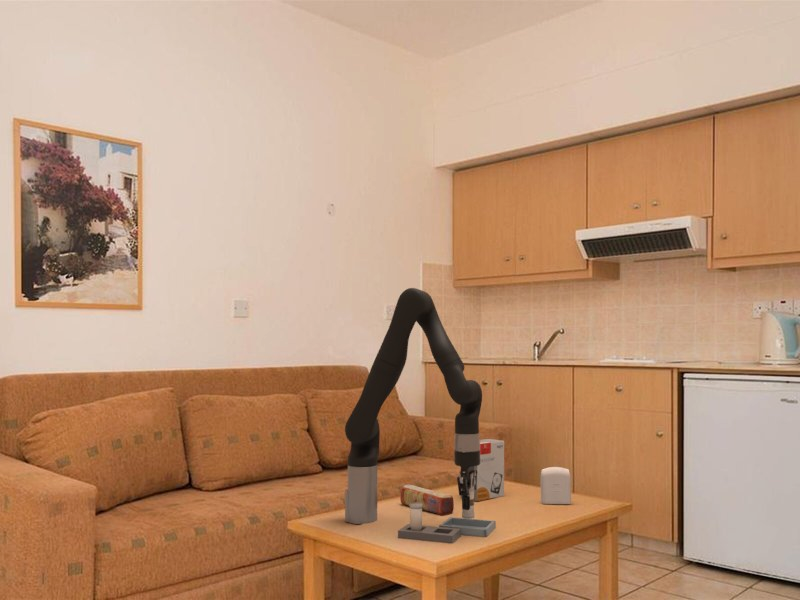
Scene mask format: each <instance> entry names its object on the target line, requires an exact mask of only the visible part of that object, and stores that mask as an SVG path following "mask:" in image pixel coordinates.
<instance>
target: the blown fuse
mask: <svg viewBox="0 0 800 600" xmlns="http://www.w3.org/2000/svg"><path fill="white" fill-rule="evenodd" d="M467 486H468V485H467ZM464 491H465V489H464ZM461 511H462V512H461V518H467V519H474V518H475V501H474V485H472V488H471V489H470V509H469V510H463V509H462V508H461Z"/></svg>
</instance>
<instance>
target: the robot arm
mask: <svg viewBox="0 0 800 600" xmlns="http://www.w3.org/2000/svg"><path fill="white" fill-rule="evenodd" d="M393 311H394V312H393V314H392V317H391V321H390V324H389V326H388V329H387V331H386V334H385V335H384V338H383V340H382V342H381V345H380V348H379V349H378V351H377V354H376V356H375V358H374V361H373V362H372V366H371V368H370V369H369V373H368V374H367V378H366V380H365V383H364V385H363V389H362V392H361V395H360V397H359V399H358V400H357V402H356V405H355V406H354V408H353V410H352V411H351V413H350V415H349V417H348V419H347V420H346V423H345V426H344V433H345V436H346V438H347V440H348V441H349V442H350V450H349V453H348V456H347V489H346V490H345V492H344V507H345V508H344V522H347V523H350V524H354V525H363V524H371V523H375V522H377V521H378V459H379V454H380V429H381V428H380V423H379V420H378V415H379V413H380V411H381V409H382V406H383V404H384V403H385V402H386V400H387V399H388V397H389V395H390V394H391V392H392V391H393V390H394V388H395V387H396V385H397V383H398V381H399V379H400V377H401V375H402V372H403V370H404V368H405V365H406V362H407V358H408V347H409V341H410V335H411V333H412V331H413V328H414V326H415V324H416V323H417V324H418V325H419V326H420V328H421V330H422V331H423V333H424V334H425V336H426V339H427V343H428V346H429V349H430V352H431V355H432V356H433V360H434V361H435V363H436V365H437V368H439V370H440V373H441V374H442V376H443V378H444V383H445V385H446V388H447V391H448V392H447V393H448V394H449V396H450V398H451V400H452V401H453V402H454V403H455V404H456V405H459V406H460V409H459V411H458V413H457V414H455V419H454V441H453V447H454V451H453V452H454V455H453V456H454V457H453V458H454V465H455V466H458V467H460V471H459V475H458V476H457V477H456V480H457V488H458V495H459V496H460V497H461V496H462V498H461V510H462V509H463V510H469V509H470V489H471V488H472V485H474V490H476V483H477V470H474V466H478V465H480V440H481V439H480V426H479V424H480V423H479V418H480V413H481V409H482V402H483V391H482V387H481V385H480V384H479V383H478V381H476V380H473V379H468V380H467V378H466V377H465V374H464V371H465V365H464V363H463V361H462V358H461V357H460V355H459V353H458V351H457V350H456V348H455V347H454V344H453V343H452V342H451V339H450V338H449V336H448V334H447V332H446V329H445V328H444V326H443V325H444V324H442V321H441V319H440V316H439V314H438V311H437V308H436V305H435V302H434V300H433V298H432V296H431V295H430V294H429V293H428V292H426V291H424V290H421V289H418V288H415V287H409V288H406V289H405V290H403V291H402V293H400V295H399V297H398V299H397V302H396V305H395V307H394V310H393ZM467 485H468V486H467ZM464 489H465V491H464ZM474 492H475V491H474Z"/></svg>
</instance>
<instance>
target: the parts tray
mask: <svg viewBox="0 0 800 600" xmlns="http://www.w3.org/2000/svg"><path fill="white" fill-rule="evenodd" d="M496 526H497V525H496V520H490V519H489V520H487V519H476V518H475V519H474V518H470V519H468V518H463V517H453V516H450V517H448V518H447V519H446V520H444V521H443V522H442V523H440V524H439V525H438V527H445V528H456V529H461V536H472V537H480V538H487V537H488V536H489V535H490V534H491V533H493V531H494V530H495V529H496V528H497V527H496Z"/></svg>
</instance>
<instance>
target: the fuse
mask: <svg viewBox="0 0 800 600" xmlns="http://www.w3.org/2000/svg"><path fill="white" fill-rule="evenodd" d="M409 524H410V530H414V531H422V525H423V509H422V503H420V502H412V503H410V506H409Z"/></svg>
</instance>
